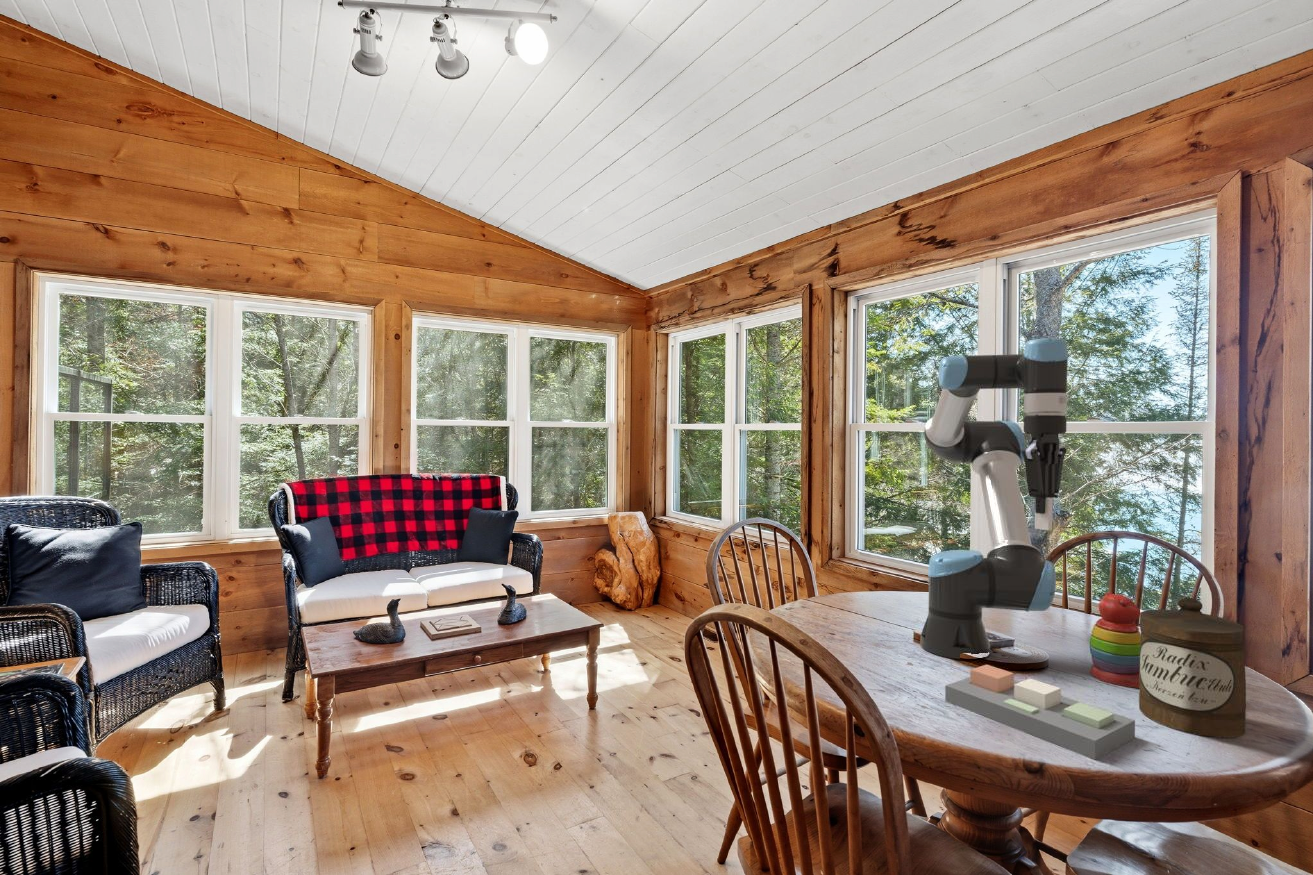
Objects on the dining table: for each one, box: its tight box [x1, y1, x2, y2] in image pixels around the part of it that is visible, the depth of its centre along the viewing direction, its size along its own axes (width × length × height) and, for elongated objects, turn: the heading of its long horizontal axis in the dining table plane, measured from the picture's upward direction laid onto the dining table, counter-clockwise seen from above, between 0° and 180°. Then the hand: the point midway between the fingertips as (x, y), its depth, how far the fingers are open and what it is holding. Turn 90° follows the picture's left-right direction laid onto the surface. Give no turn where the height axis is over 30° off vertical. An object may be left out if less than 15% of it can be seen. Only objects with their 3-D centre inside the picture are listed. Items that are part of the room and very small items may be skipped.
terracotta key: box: [970, 664, 1015, 693], centre depth 124 cm, size 5×5×3 cm
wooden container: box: [1138, 597, 1247, 739], centre depth 116 cm, size 15×15×22 cm
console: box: [944, 676, 1136, 760], centre depth 116 cm, size 26×14×3 cm, turn 32°
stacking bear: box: [1089, 591, 1141, 689], centre depth 135 cm, size 11×10×18 cm
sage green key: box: [1064, 701, 1114, 729], centre depth 109 cm, size 5×5×3 cm
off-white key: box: [1014, 678, 1062, 710], centre depth 117 cm, size 5×5×3 cm
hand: (1043, 529), depth 132 cm, fingers closed
